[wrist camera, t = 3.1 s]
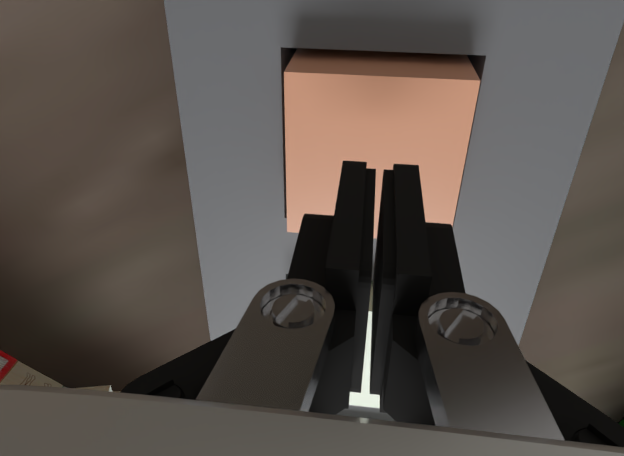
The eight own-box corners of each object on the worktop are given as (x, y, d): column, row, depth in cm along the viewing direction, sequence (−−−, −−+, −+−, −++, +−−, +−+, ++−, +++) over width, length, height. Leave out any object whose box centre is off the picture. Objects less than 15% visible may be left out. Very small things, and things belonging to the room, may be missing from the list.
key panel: (450, 457, 30) (459, 528, 26) (248, 434, 31) (232, 499, 27) (586, -48, 16) (641, -34, 12) (203, -56, 17) (157, -45, 13)
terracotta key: (439, 195, 18) (449, 244, 15) (300, 186, 18) (287, 232, 16) (464, 50, 15) (480, 80, 13) (299, 44, 16) (283, 71, 13)
